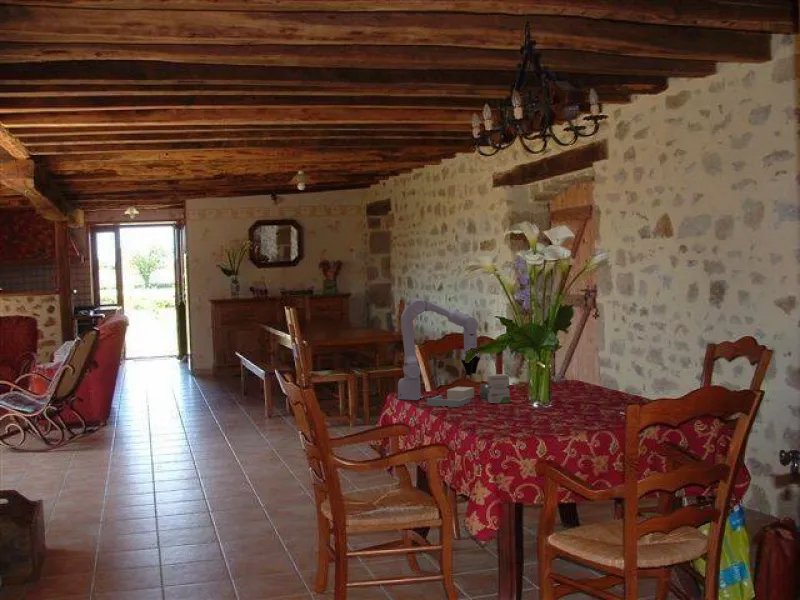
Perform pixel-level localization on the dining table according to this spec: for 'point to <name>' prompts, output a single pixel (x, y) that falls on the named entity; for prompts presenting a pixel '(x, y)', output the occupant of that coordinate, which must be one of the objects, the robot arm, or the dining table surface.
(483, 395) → the grey glossy ball
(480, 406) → the dining table surface
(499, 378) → the ink box
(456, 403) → the display stand
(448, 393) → the carton
